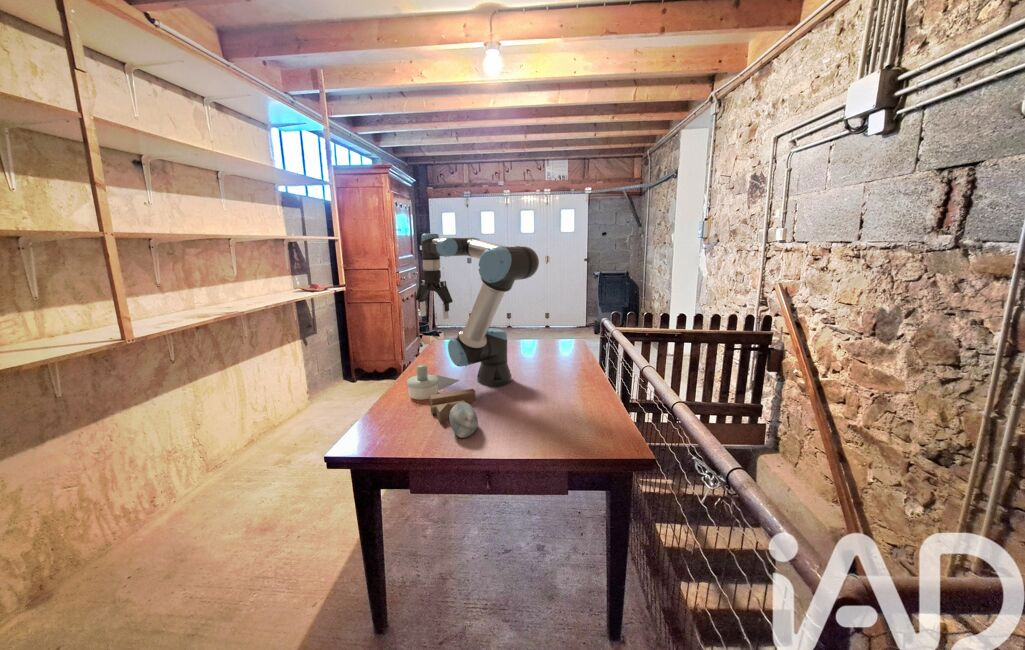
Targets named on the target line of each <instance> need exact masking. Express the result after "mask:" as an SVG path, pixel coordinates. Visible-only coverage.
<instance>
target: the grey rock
mask: <svg viewBox="0 0 1025 650" xmlns="http://www.w3.org/2000/svg"><path fill="white" fill-rule="evenodd" d="M448 418H449V424H450V428H451V429H452V432H453V433H454V434H455V435H456V437H458V438H462V439H464V438H465V439H466V438H468V437H470V436H472V434H474V432H475V431H476V430H477V429H478V425H479V419H478V414H477V412H476V411H475V409H474V408H473V406H472V405H471V403H465V402H460V403H458V404H456V405H455V406H453V408H452V409H451V410H450V414H449V417H448Z"/></svg>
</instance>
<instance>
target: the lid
mask: <svg viewBox="0 0 1025 650" xmlns="http://www.w3.org/2000/svg"><path fill="white" fill-rule="evenodd" d="M436 384H438V377H437V375H433V374H428V365H427V364H418V365H416V375H413V376H410V377H409V378H408V379H407V380H406V386H407V388H408V387H410V388H415V389H422V388H429V387H432V386H435V385H436Z"/></svg>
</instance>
